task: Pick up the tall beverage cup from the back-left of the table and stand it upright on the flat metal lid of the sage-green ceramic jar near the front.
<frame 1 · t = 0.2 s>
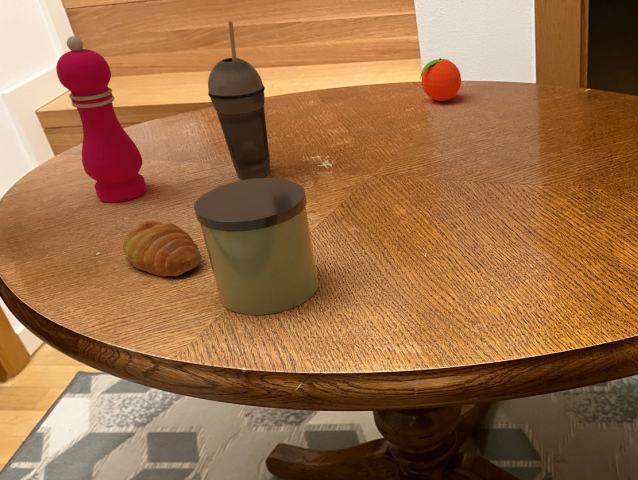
clementine: (440, 102, 128), on the table
jar: (269, 289, 75), on the table
pastry: (168, 262, 82), on the table
beverage cup: (254, 176, 103), on the table
pepper mill: (123, 194, 99), on the table
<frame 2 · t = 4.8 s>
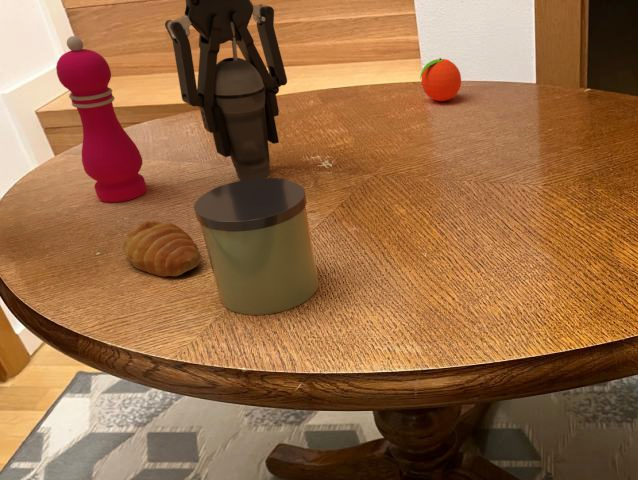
hand: (248, 147, 100), 4 cm above the table, tool pointing down, fingers closed on beverage cup, 6 cm apart
beverage cup: (254, 176, 103), on the table, touching gripper
everything else where it was.
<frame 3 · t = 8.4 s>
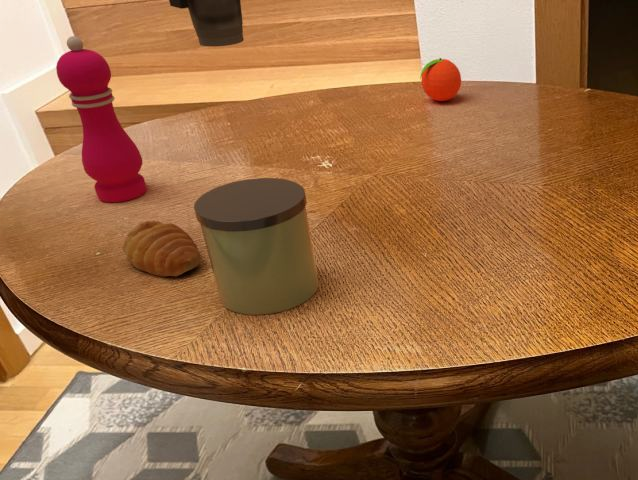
hand: (213, 0, 74), 25 cm above the table, tool pointing down, fingers closed on beverage cup, 6 cm apart
beverage cup: (222, 43, 77), point 21 cm above the table, touching gripper
everything else where it was.
when the fingers open (14 cm above the table, at t = 12.5 s): beverage cup stays where it is, resting on jar.
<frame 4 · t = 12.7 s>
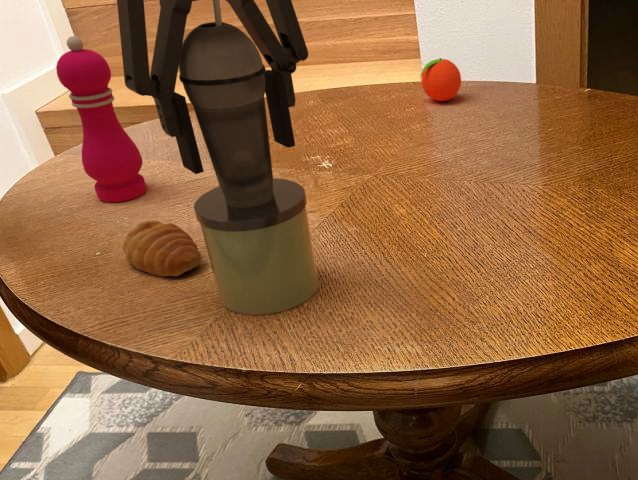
hand: (240, 155, 67), 14 cm above the table, tool pointing down, fingers open, 8 cm apart
beverage cup: (250, 200, 70), point 10 cm above the table, touching jar
everything else where it was.
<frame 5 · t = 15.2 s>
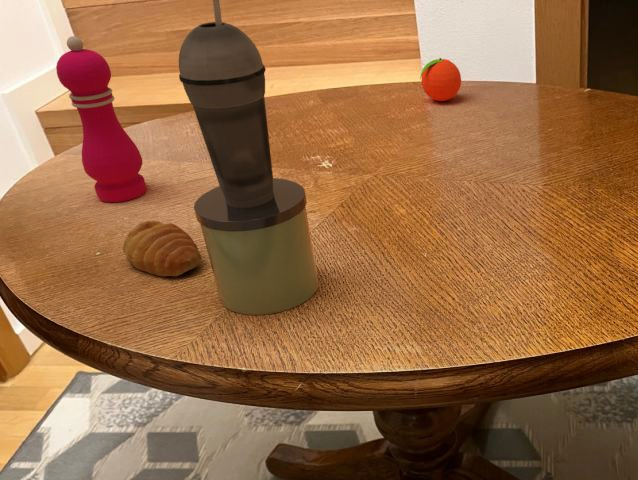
nothing on the table moved.
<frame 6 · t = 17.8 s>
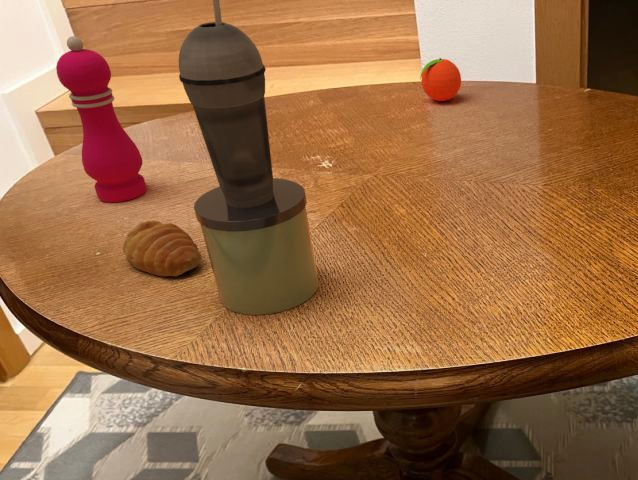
nothing on the table moved.
at the end: beverage cup 0.0 cm off-centre on the jar, point 9.8 cm above the jar's base; beverage cup tilted 0°; the gripper is holding nothing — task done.
